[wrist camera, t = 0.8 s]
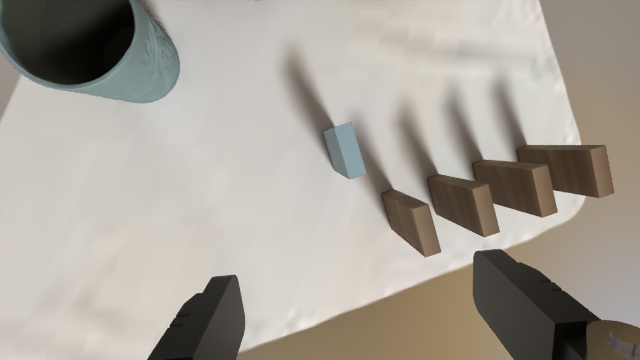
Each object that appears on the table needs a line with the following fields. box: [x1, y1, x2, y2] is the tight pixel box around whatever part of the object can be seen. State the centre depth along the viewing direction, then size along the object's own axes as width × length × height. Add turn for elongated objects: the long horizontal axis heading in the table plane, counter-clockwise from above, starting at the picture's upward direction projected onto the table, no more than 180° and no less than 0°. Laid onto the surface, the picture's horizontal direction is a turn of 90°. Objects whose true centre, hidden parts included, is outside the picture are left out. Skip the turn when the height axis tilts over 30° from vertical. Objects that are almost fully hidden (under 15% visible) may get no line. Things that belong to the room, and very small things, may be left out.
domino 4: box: [472, 160, 557, 218], centre depth 35 cm, size 2×5×10 cm, turn 17°
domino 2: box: [382, 189, 441, 258], centre depth 34 cm, size 2×5×10 cm, turn 17°
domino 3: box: [427, 174, 500, 237], centre depth 35 cm, size 2×5×10 cm, turn 17°
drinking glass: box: [0, 0, 180, 103], centre depth 29 cm, size 10×10×12 cm
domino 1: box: [323, 122, 366, 179], centre depth 33 cm, size 2×5×10 cm, turn 17°
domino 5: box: [516, 145, 614, 198], centre depth 35 cm, size 2×5×10 cm, turn 17°
